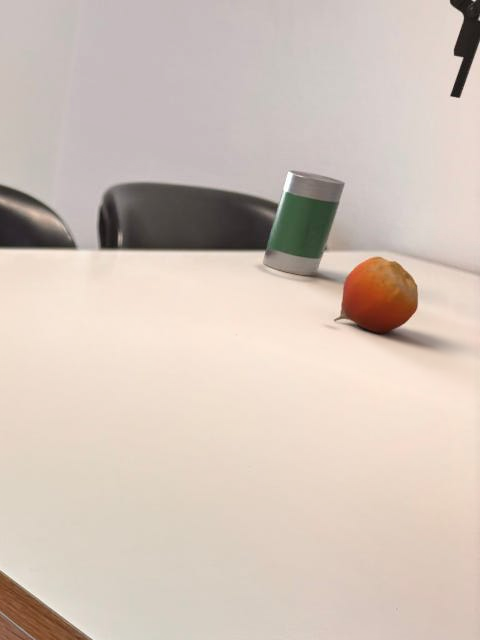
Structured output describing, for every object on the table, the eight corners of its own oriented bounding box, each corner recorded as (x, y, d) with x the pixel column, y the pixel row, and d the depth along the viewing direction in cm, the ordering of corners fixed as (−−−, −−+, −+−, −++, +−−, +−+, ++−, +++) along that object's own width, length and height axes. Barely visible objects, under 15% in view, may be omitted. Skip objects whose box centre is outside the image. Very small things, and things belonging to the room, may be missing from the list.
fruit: (331, 294, 119) (389, 240, 114) (377, 348, 118) (437, 296, 114) (311, 303, 113) (371, 246, 108) (360, 360, 112) (423, 305, 107)
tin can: (318, 270, 140) (346, 181, 134) (314, 279, 134) (344, 186, 128) (265, 257, 141) (290, 168, 135) (259, 265, 135) (285, 172, 129)
